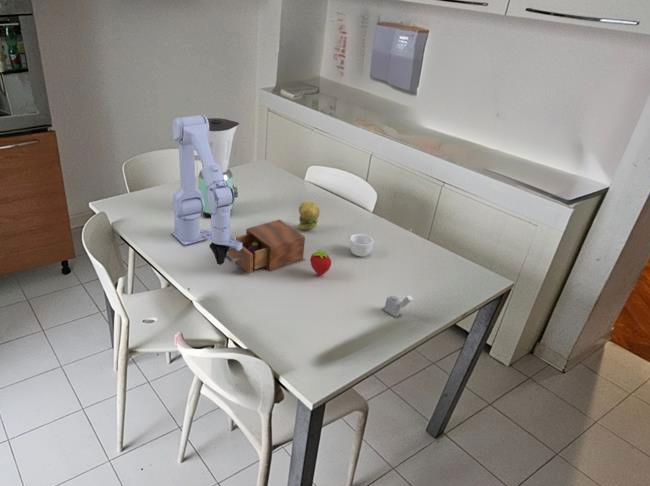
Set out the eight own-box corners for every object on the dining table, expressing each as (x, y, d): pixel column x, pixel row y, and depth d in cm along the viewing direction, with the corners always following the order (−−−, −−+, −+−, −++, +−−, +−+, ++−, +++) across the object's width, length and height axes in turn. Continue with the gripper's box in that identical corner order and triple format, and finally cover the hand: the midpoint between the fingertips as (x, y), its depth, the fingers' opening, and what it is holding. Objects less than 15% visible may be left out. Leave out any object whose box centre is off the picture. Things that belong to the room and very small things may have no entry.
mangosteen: (245, 253, 172) (246, 241, 170) (258, 252, 174) (259, 239, 171) (250, 260, 169) (250, 247, 166) (263, 258, 170) (263, 246, 168)
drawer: (236, 278, 162) (236, 259, 158) (215, 259, 171) (215, 241, 168) (281, 263, 170) (282, 244, 166) (259, 245, 179) (260, 228, 176)
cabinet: (269, 270, 168) (270, 247, 163) (245, 251, 178) (246, 228, 173) (302, 259, 174) (305, 236, 170) (278, 241, 184) (279, 219, 179)
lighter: (383, 309, 152) (388, 287, 147) (387, 307, 153) (392, 285, 148) (404, 322, 147) (410, 299, 143) (407, 319, 148) (413, 296, 144)
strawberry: (318, 284, 162) (321, 256, 157) (304, 272, 167) (307, 245, 162) (333, 279, 164) (337, 251, 159) (319, 267, 170) (322, 241, 165)
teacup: (375, 254, 178) (378, 240, 175) (360, 261, 174) (363, 247, 171) (353, 242, 184) (355, 229, 182) (338, 249, 180) (340, 235, 178)
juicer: (233, 202, 210) (235, 114, 191) (240, 217, 199) (243, 125, 180) (186, 205, 206) (183, 116, 187) (191, 221, 195) (188, 128, 176)
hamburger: (310, 223, 196) (314, 194, 189) (321, 232, 190) (325, 202, 184) (293, 227, 193) (295, 197, 186) (303, 236, 187) (306, 206, 181)
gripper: (248, 225, 157) (246, 264, 164) (208, 213, 163) (208, 251, 171) (235, 235, 152) (234, 274, 159) (195, 222, 158) (196, 260, 165)
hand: (220, 263), depth 164 cm, fingers closed
